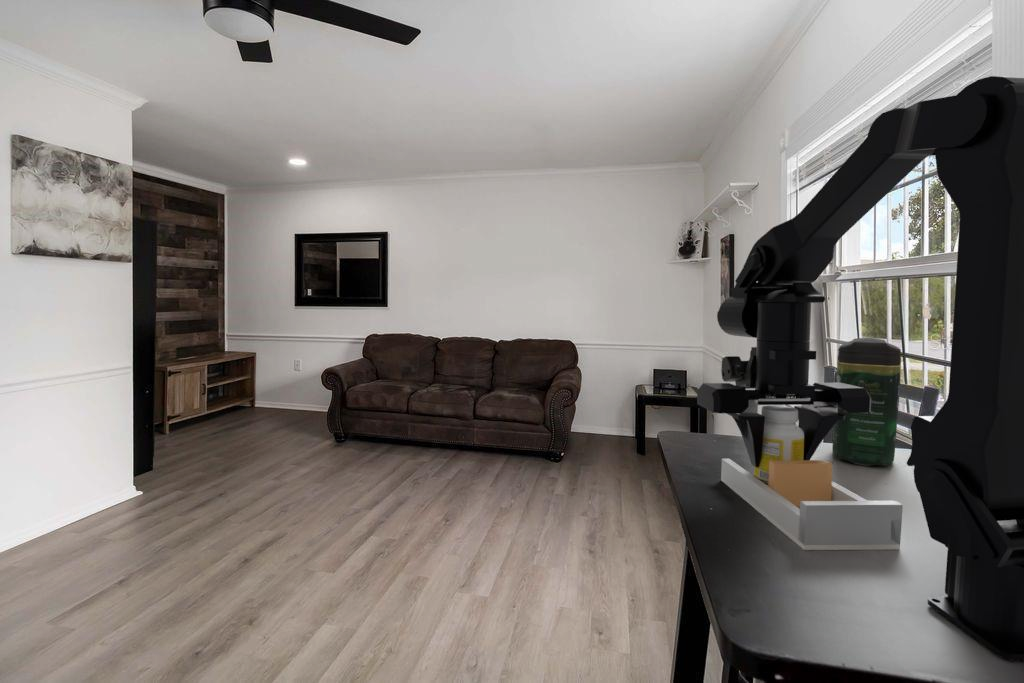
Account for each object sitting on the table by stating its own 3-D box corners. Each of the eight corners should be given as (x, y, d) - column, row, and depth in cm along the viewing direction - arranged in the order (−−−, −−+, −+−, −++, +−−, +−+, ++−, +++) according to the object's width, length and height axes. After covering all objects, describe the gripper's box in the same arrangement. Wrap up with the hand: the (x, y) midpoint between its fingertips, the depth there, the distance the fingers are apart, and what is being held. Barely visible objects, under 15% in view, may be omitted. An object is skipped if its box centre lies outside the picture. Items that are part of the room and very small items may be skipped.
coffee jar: (897, 472, 71) (905, 341, 69) (831, 462, 75) (837, 339, 74) (892, 454, 79) (899, 337, 77) (833, 446, 83) (838, 335, 81)
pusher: (830, 506, 57) (832, 463, 57) (773, 506, 57) (774, 463, 57) (824, 502, 58) (825, 460, 58) (767, 502, 58) (769, 460, 58)
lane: (899, 549, 49) (902, 504, 48) (804, 550, 49) (806, 505, 48) (790, 479, 68) (791, 447, 67) (721, 480, 68) (722, 447, 67)
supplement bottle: (793, 480, 64) (796, 404, 64) (809, 495, 59) (813, 413, 58) (748, 477, 65) (750, 403, 65) (760, 492, 60) (762, 412, 59)
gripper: (817, 336, 69) (813, 447, 70) (683, 337, 69) (681, 448, 70) (877, 342, 58) (871, 474, 59) (717, 343, 58) (713, 475, 59)
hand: (778, 466), depth 62 cm, fingers closed on supplement bottle, 5 cm apart
